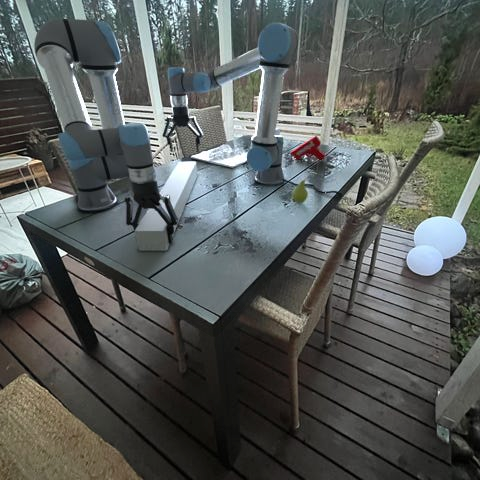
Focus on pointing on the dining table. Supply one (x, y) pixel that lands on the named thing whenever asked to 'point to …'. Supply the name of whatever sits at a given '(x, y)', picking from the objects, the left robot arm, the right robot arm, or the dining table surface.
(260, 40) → the right robot arm
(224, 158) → the relief map
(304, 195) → the fruit
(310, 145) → the toy gun
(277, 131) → the ink box
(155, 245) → the long white beam
